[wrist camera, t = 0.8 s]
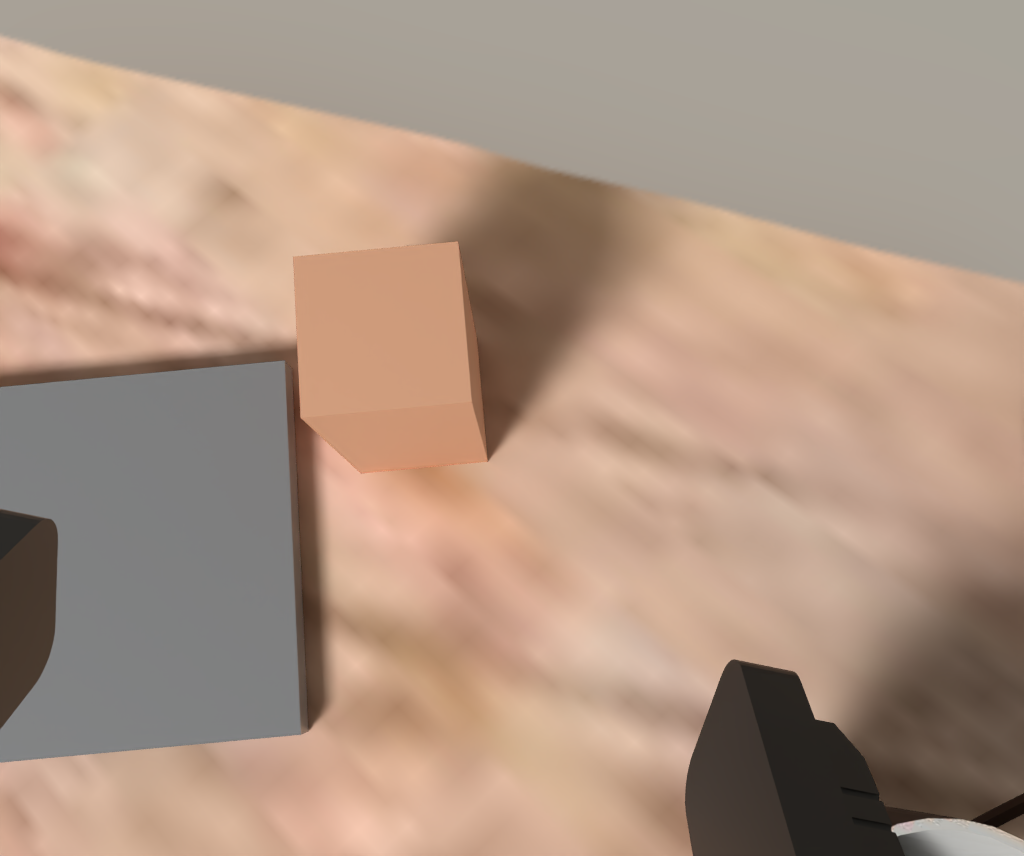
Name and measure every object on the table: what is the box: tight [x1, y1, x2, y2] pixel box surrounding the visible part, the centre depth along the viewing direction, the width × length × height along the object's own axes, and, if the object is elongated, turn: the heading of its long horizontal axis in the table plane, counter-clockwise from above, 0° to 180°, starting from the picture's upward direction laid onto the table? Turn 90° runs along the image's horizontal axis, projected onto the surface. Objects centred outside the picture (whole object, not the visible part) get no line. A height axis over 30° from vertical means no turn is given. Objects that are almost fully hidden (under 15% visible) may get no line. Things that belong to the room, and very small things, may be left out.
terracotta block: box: [293, 241, 488, 473], centre depth 33 cm, size 5×5×10 cm
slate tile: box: [0, 360, 308, 762], centre depth 37 cm, size 14×14×1 cm
